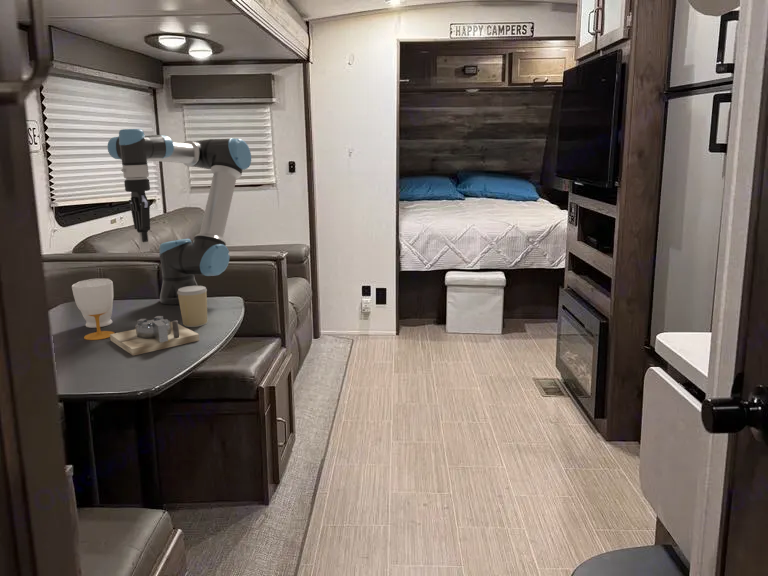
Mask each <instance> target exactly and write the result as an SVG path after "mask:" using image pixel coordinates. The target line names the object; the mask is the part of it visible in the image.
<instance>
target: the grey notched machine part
mask: <svg viewBox="0 0 768 576" xmlns="http://www.w3.org/2000/svg"><path fill="white" fill-rule="evenodd" d="M136 322H137V323H136V324H135V329H136V335H137V337H139V338H155V339H156V340H157V341H159V342H160V343H161V342H166V341H168V334H169V333H171V325H170V322H171V321H170V320H168V319H167V318H165V319H164V315H157V316H155V317H153V319H149V320H148V319H147V318H140V319H137V321H136Z"/></svg>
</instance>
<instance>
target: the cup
mask: <svg viewBox="0 0 768 576" xmlns="http://www.w3.org/2000/svg"><path fill="white" fill-rule="evenodd" d="M88 280H89V279H88ZM82 281H83V282H80V281H78V283H77V282H76V283H73V284H72V285H71V289H72V294H73V298H74V302H75V304H76V307H77V308H78V309H79V311H80V312H81V314H82V313H83V314H86V315H89V316H94V317H95V320H96V327H97V328H96V332H95V331H94V332H91V333H88V334H86V335H84V337H83V339H84V340H86V341H99V340H106V339H110V334H114V333H115V331H111V330H101V327H100V323H99V316H100V315H102V314H104V313H106V312H107V311H108V310H109V309H110V308H111V306H112V304H113V303H114V302H113V301H114V283H113V281H112V280H111V279H110V280H103V279H100V280H89V281H84V280H82ZM112 307H113V306H112Z"/></svg>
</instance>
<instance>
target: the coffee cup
mask: <svg viewBox="0 0 768 576" xmlns="http://www.w3.org/2000/svg"><path fill="white" fill-rule="evenodd" d="M207 291H208V289H207V287H206V286H205V285H204V286H203V285H198V286H187V287H182V288H180V289H178V291H177V294H178V298H179V304H178V305H179V308H180V309H179V310H180V315H181V320H182V324H183V325H182V326H183V327H185V328H195V327H201V326H204V325H207V323H208V299H207V298H208V297H207V296H208V295H207V294H208V293H207Z"/></svg>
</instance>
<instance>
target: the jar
mask: <svg viewBox="0 0 768 576" xmlns="http://www.w3.org/2000/svg"><path fill="white" fill-rule="evenodd" d="M100 279H103V280H111V279H110V278H103V277H102V278H101V277H100V278H99V277H98V278H90V279H84V280H80V281H78V282H83V281H89V280H100ZM78 282H76V283H78ZM113 307H114V305H113V304H112V306H111V308H110V309H109V310H108V311H107V312H106V313H104V314H102V315H100V316H99V323H100V328H103V327H107V326H110V325H112V324H113V320H112V319H111V318H112V315H113ZM81 315H82V317H83V319H84V320H85V321H86V322H85V327H86V328H90V329H97V327H96V320H95V317H94V316H89V315H86V314H83V313H82V312H81Z"/></svg>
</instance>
